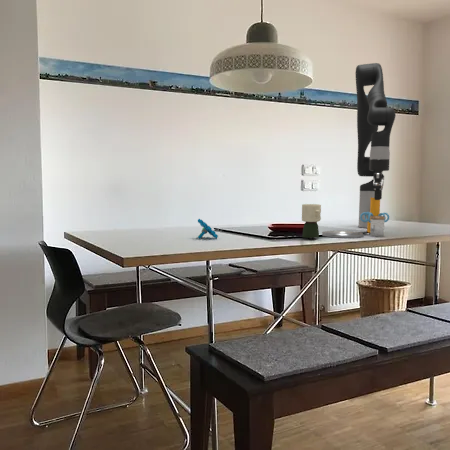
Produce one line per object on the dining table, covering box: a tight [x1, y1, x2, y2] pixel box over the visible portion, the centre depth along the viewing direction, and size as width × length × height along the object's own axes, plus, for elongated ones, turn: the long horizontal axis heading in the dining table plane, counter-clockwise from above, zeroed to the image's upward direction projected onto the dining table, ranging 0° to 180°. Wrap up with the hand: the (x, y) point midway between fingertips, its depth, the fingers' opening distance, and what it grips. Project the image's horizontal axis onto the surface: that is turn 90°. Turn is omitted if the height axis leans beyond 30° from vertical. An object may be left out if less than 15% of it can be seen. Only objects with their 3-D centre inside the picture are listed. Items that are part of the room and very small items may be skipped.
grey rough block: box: [369, 215, 386, 238], centre depth 198 cm, size 6×6×8 cm
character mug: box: [301, 203, 322, 240], centre depth 187 cm, size 11×7×13 cm, turn 25°
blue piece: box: [197, 218, 219, 240], centre depth 186 cm, size 11×6×10 cm
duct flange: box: [321, 230, 364, 239], centre depth 198 cm, size 16×16×2 cm
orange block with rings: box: [360, 197, 390, 234], centre depth 212 cm, size 12×10×15 cm
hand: (378, 199), depth 197 cm, fingers open, 8 cm apart
